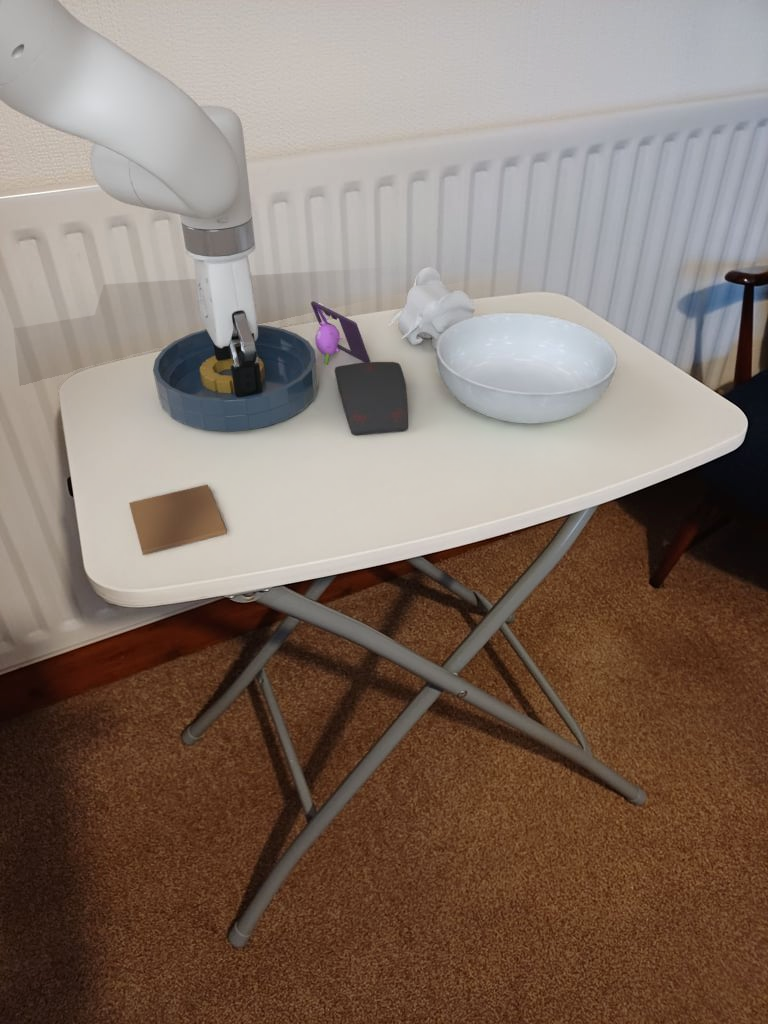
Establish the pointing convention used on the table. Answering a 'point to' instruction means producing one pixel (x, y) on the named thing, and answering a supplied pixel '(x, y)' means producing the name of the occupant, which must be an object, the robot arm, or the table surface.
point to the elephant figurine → (432, 308)
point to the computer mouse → (373, 397)
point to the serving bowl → (525, 366)
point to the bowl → (200, 407)
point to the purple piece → (338, 335)
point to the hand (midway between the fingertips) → (238, 375)
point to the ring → (218, 381)
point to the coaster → (176, 519)
